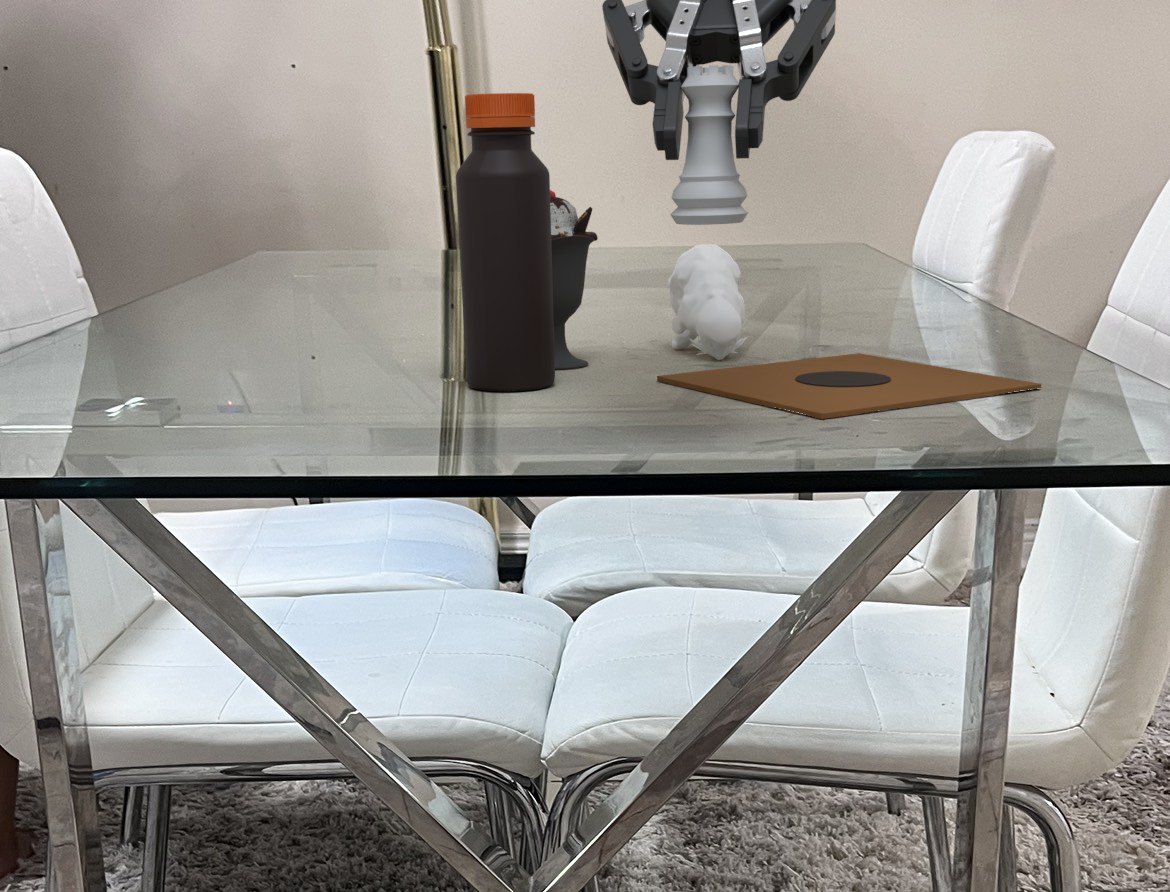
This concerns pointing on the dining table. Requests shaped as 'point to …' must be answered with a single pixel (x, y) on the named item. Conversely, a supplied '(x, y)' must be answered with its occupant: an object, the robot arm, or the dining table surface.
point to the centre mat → (845, 384)
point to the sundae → (567, 271)
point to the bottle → (505, 248)
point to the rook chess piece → (709, 152)
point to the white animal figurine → (707, 301)
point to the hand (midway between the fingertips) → (706, 146)
